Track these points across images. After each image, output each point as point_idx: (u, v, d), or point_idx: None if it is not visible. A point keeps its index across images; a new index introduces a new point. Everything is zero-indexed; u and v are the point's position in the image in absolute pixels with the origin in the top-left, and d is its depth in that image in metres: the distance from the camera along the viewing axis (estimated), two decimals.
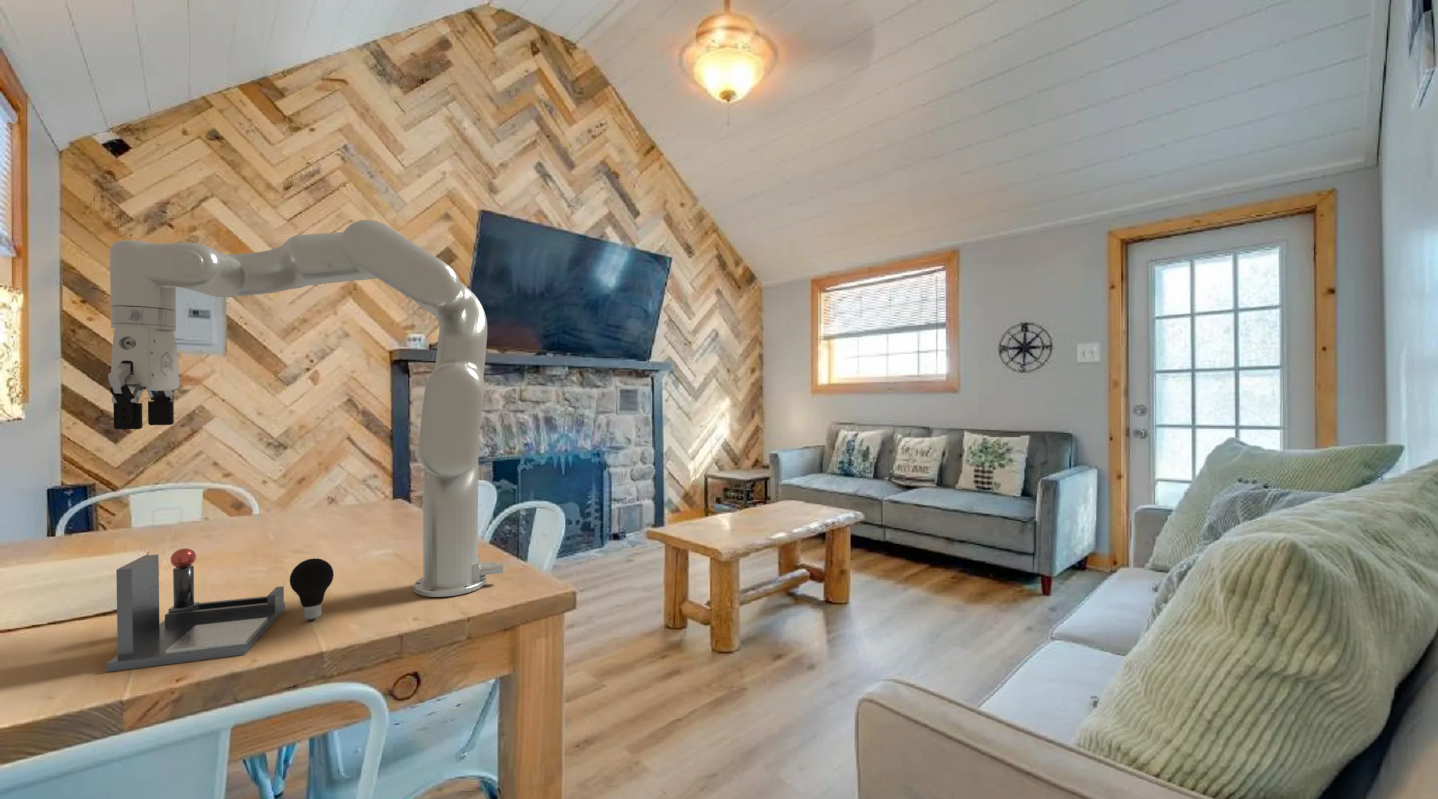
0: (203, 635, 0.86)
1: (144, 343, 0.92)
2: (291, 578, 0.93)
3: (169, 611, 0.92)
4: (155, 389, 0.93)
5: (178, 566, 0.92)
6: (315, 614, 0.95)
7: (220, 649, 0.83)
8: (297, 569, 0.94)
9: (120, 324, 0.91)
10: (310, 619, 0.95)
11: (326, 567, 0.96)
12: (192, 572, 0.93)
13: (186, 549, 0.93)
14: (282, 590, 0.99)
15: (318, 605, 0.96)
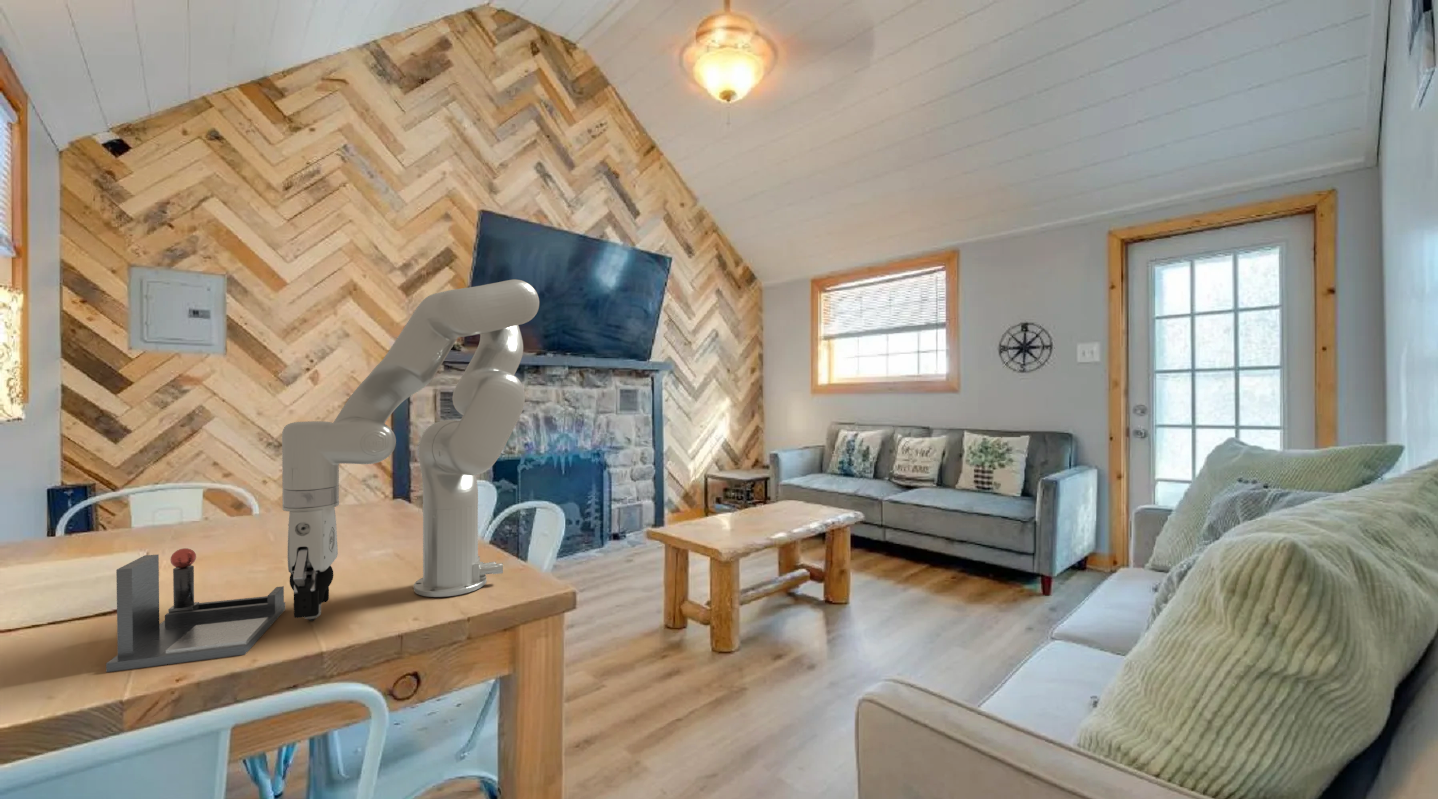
0: (203, 635, 0.86)
1: (318, 527, 0.92)
2: (291, 578, 0.93)
3: (169, 611, 0.92)
4: None
5: (178, 566, 0.92)
6: None
7: (220, 649, 0.83)
8: None
9: (294, 509, 0.92)
10: (310, 619, 0.95)
11: None
12: (192, 572, 0.93)
13: (186, 549, 0.93)
14: (282, 590, 0.99)
15: None
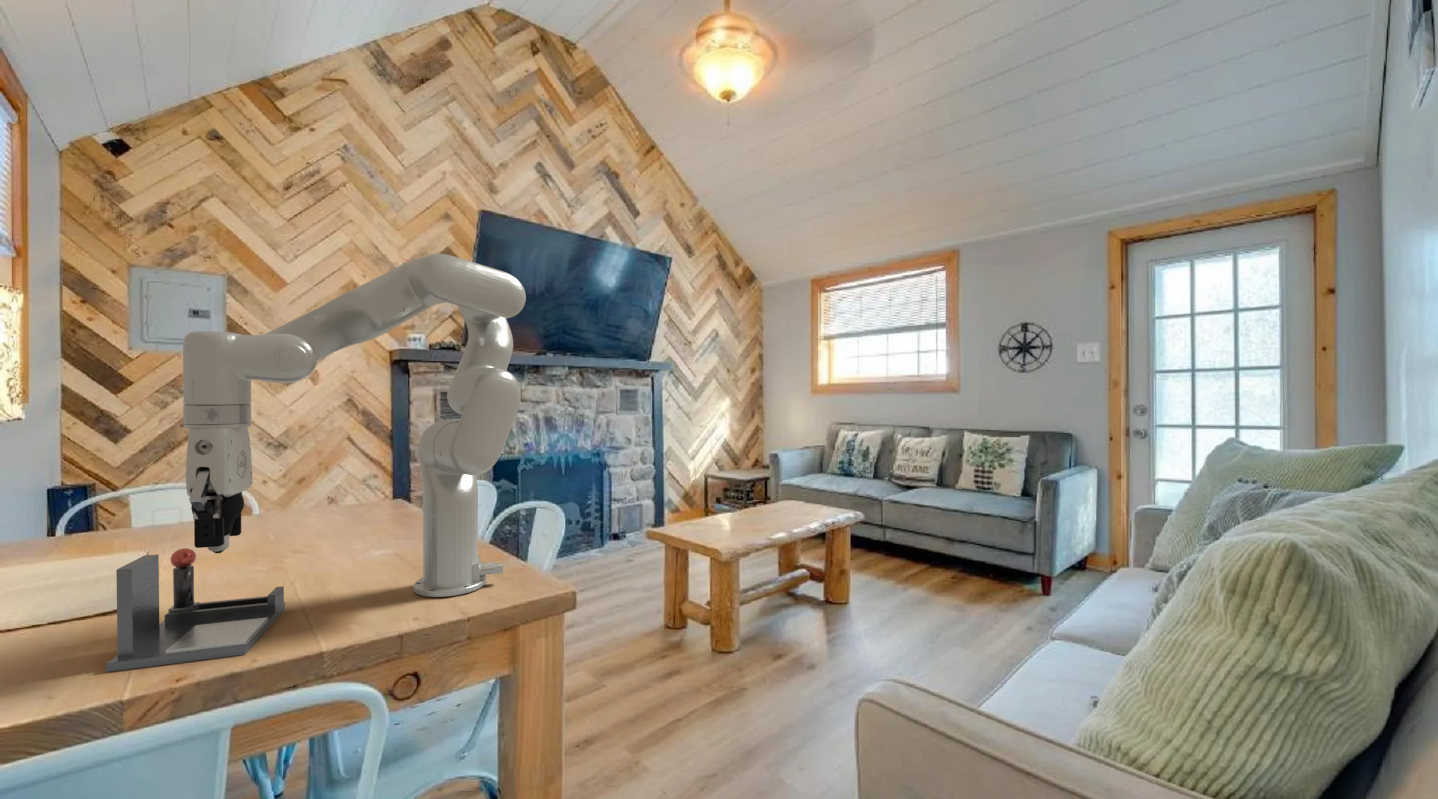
0: (203, 635, 0.86)
1: (221, 446, 0.82)
2: None
3: (169, 611, 0.92)
4: (231, 495, 0.84)
5: (178, 566, 0.92)
6: (221, 546, 0.86)
7: (220, 649, 0.83)
8: None
9: (195, 425, 0.82)
10: (215, 551, 0.86)
11: None
12: (192, 572, 0.93)
13: (186, 549, 0.93)
14: (282, 590, 0.99)
15: (225, 536, 0.86)
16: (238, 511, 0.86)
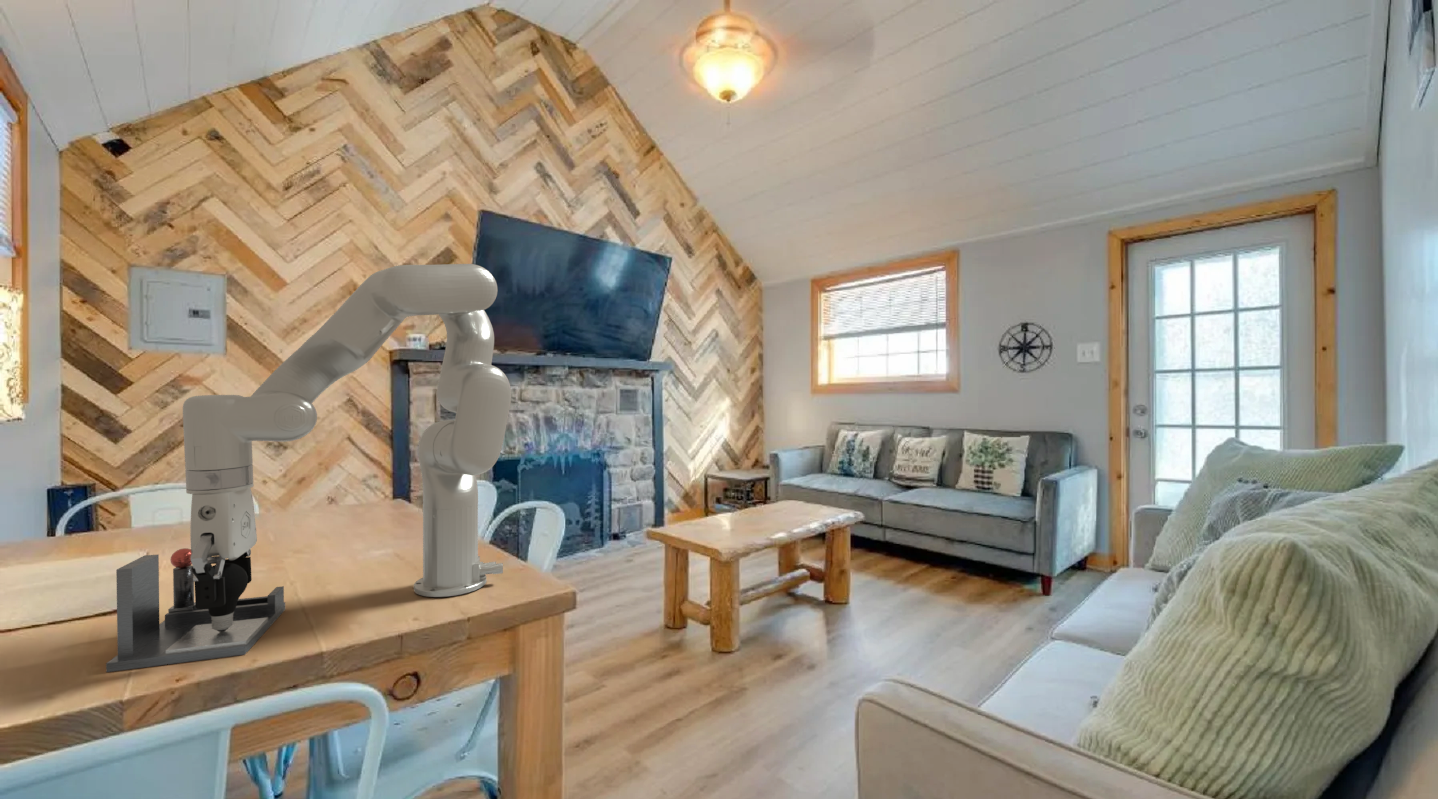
0: (203, 635, 0.86)
1: (224, 511, 0.83)
2: None
3: (169, 611, 0.92)
4: (236, 558, 0.85)
5: (178, 566, 0.92)
6: (225, 624, 0.86)
7: (220, 649, 0.83)
8: None
9: (197, 491, 0.83)
10: (219, 630, 0.86)
11: (239, 572, 0.87)
12: (192, 572, 0.93)
13: (186, 549, 0.93)
14: (282, 590, 0.99)
15: (229, 614, 0.87)
16: (242, 589, 0.87)
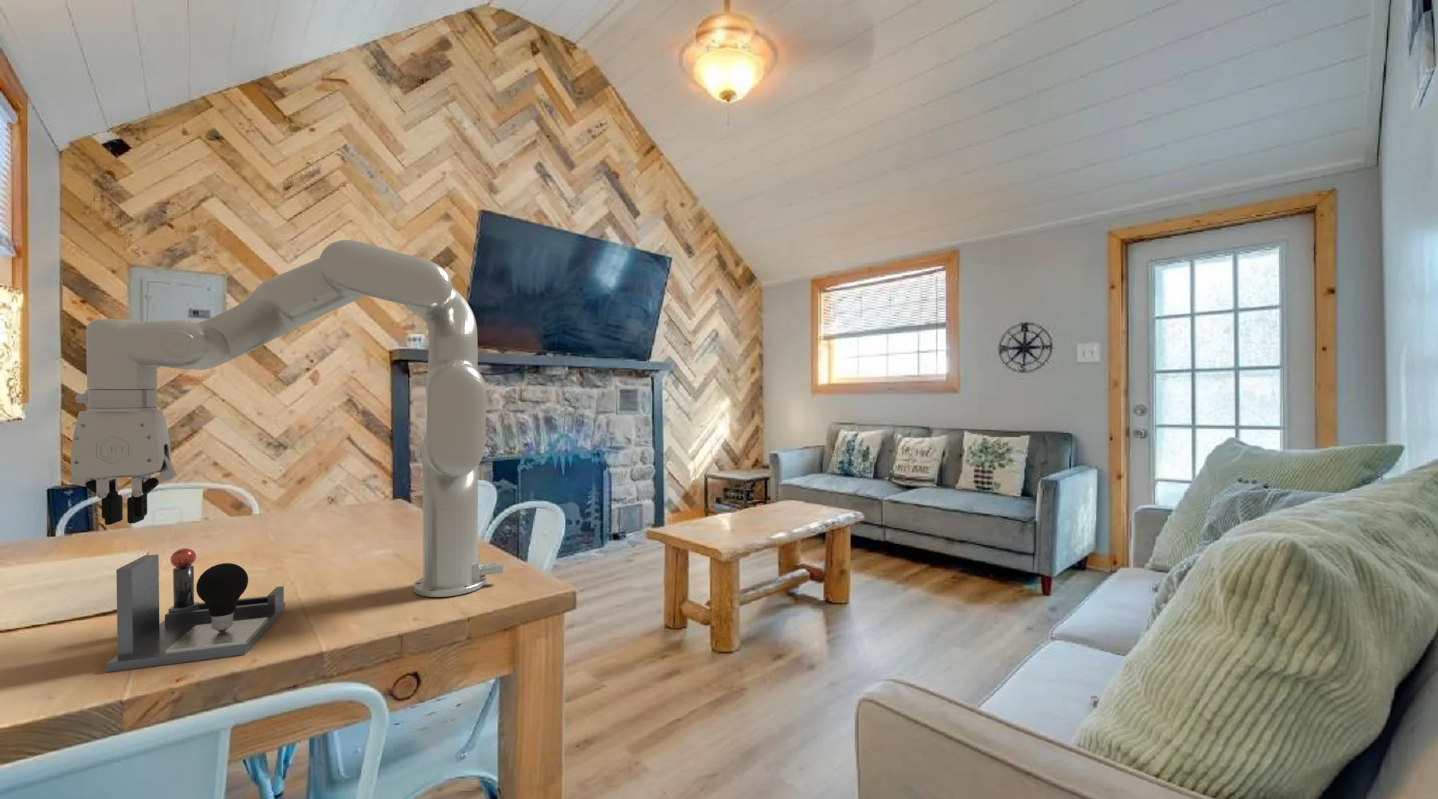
0: (203, 635, 0.86)
1: None
2: (197, 585, 0.85)
3: (169, 611, 0.92)
4: (86, 477, 0.86)
5: (178, 566, 0.92)
6: (225, 625, 0.86)
7: (220, 649, 0.83)
8: (204, 575, 0.85)
9: None
10: (219, 630, 0.86)
11: (239, 573, 0.87)
12: (192, 572, 0.93)
13: (186, 549, 0.93)
14: (282, 590, 0.99)
15: (229, 615, 0.87)
16: (242, 590, 0.87)
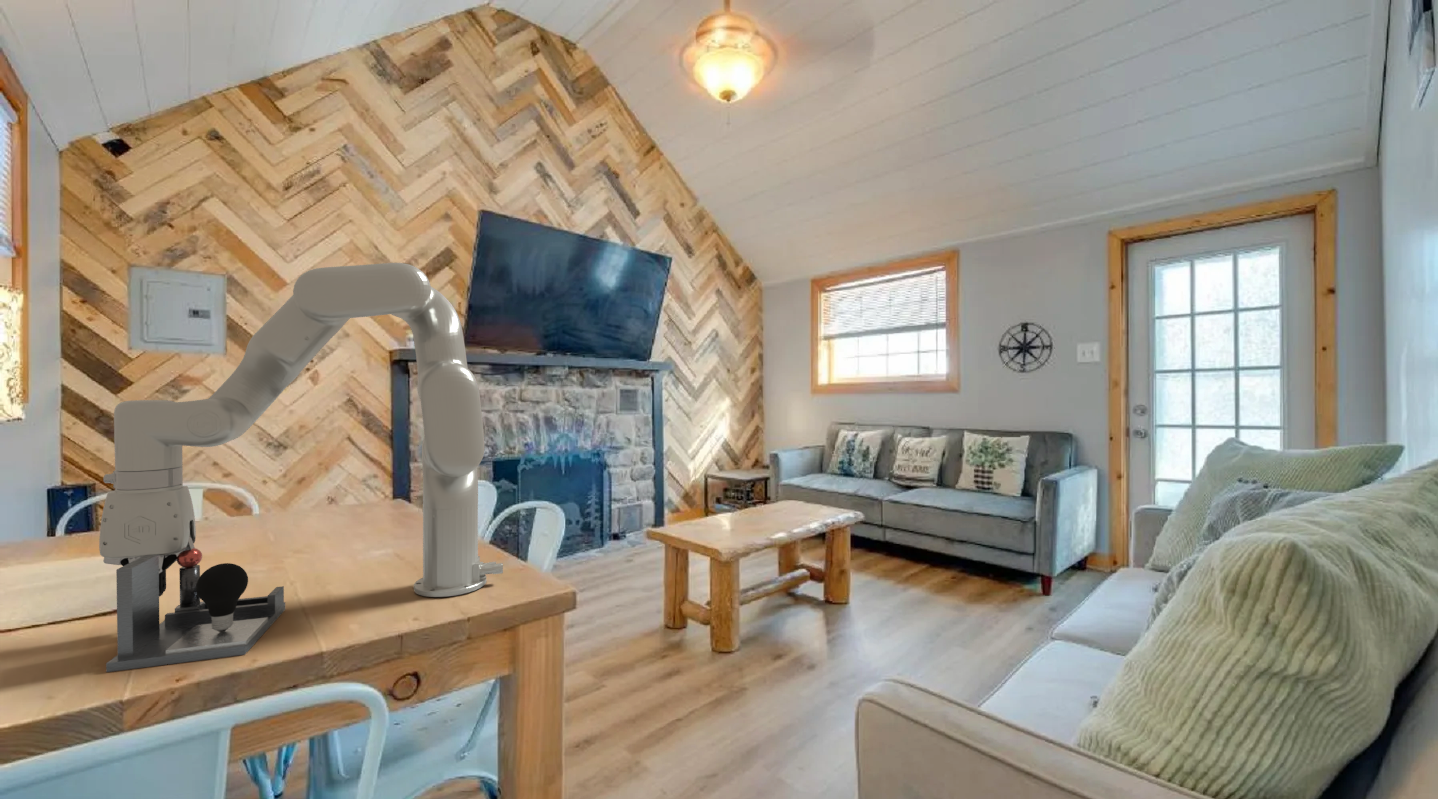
0: (203, 635, 0.86)
1: (103, 509, 0.88)
2: (197, 585, 0.85)
3: (175, 610, 0.92)
4: (114, 557, 0.88)
5: (184, 565, 0.92)
6: (225, 625, 0.86)
7: (220, 649, 0.83)
8: (204, 575, 0.85)
9: None
10: (219, 630, 0.86)
11: (239, 573, 0.87)
12: (198, 572, 0.94)
13: (192, 549, 0.93)
14: (282, 590, 0.99)
15: (229, 615, 0.87)
16: (242, 590, 0.87)
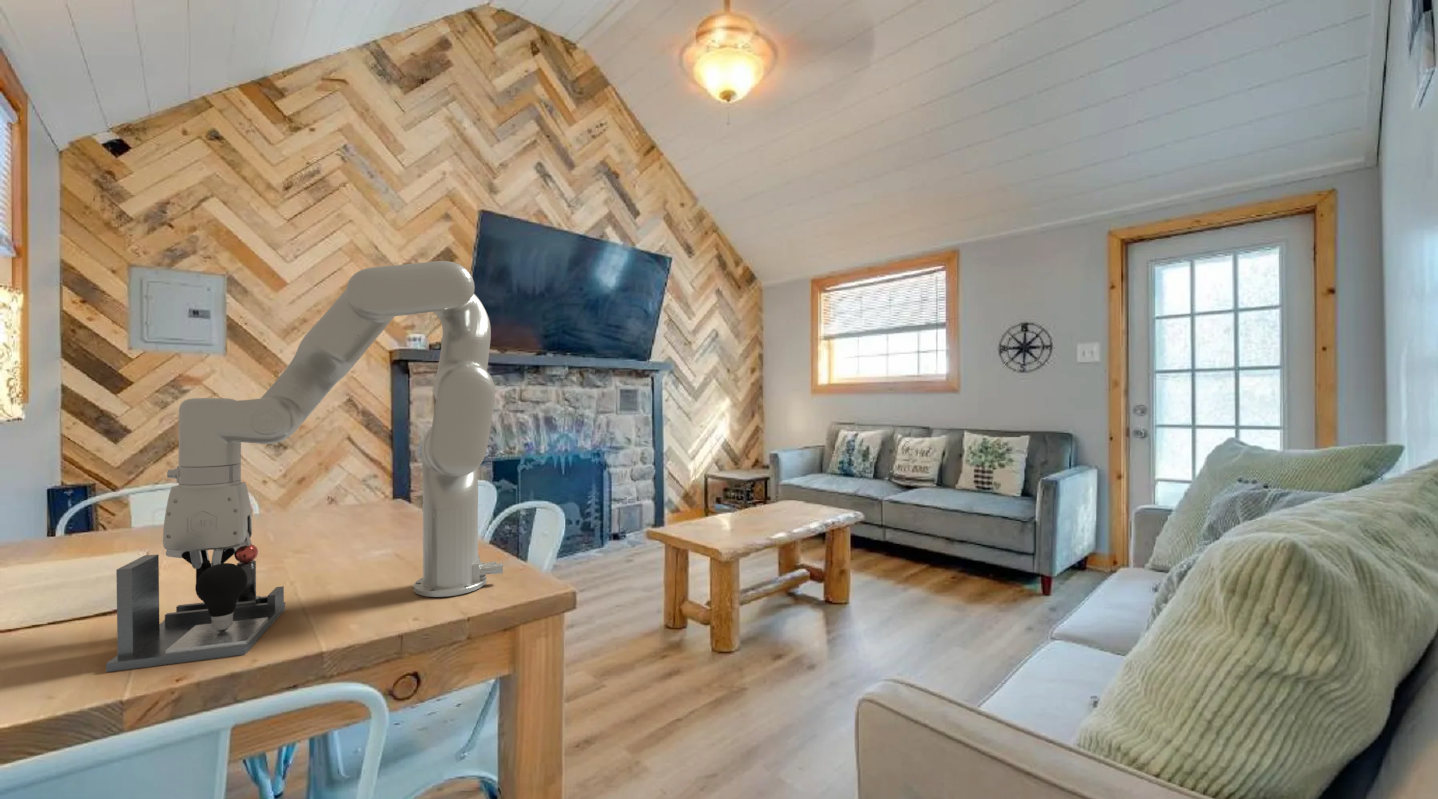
0: (203, 635, 0.86)
1: (167, 504, 0.90)
2: (196, 585, 0.85)
3: None
4: (177, 550, 0.91)
5: (242, 561, 0.95)
6: (225, 625, 0.86)
7: (220, 649, 0.83)
8: (203, 575, 0.85)
9: None
10: (219, 630, 0.86)
11: (238, 572, 0.87)
12: (255, 567, 0.96)
13: None
14: (282, 590, 0.99)
15: (228, 615, 0.87)
16: (242, 589, 0.87)
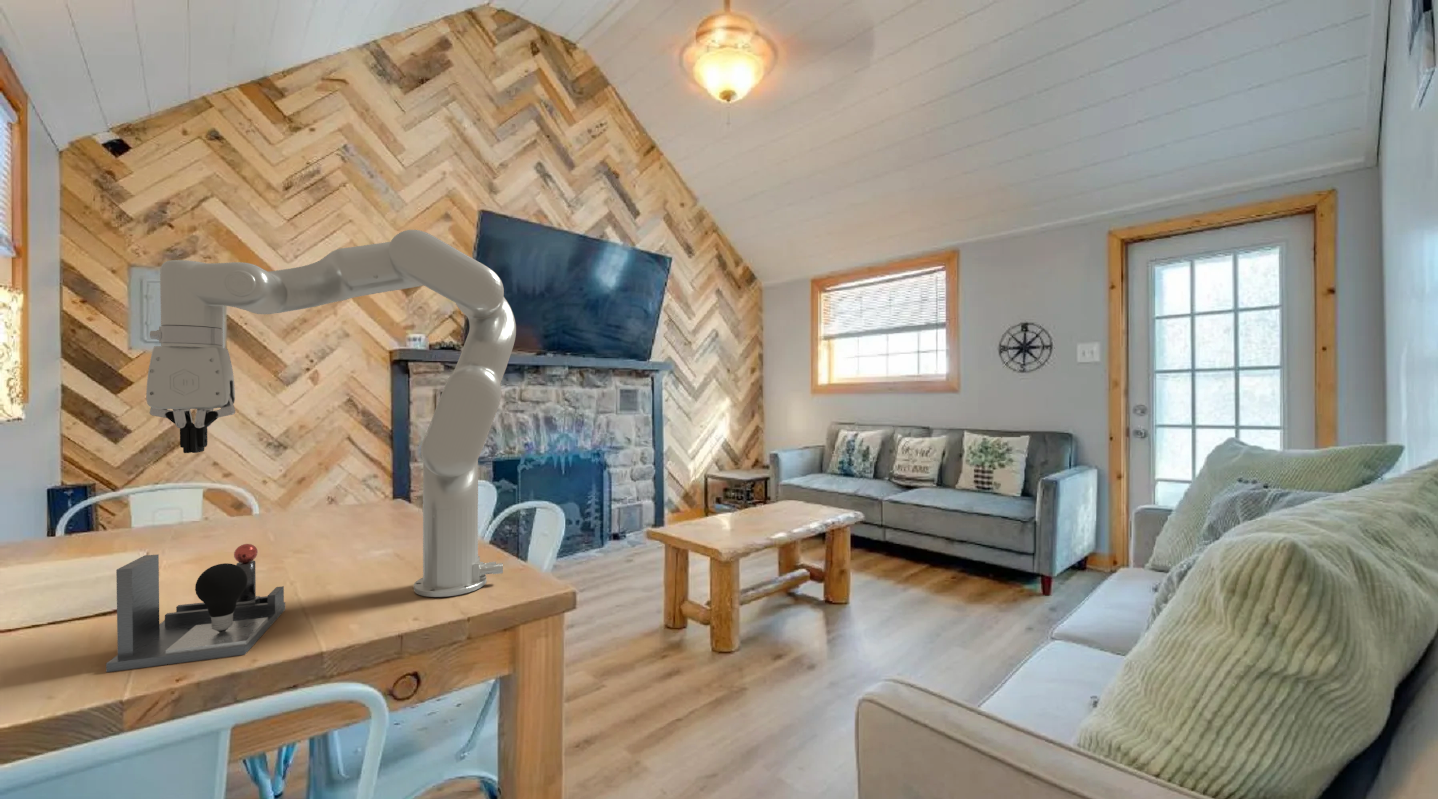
0: (203, 635, 0.86)
1: None
2: (196, 585, 0.84)
3: None
4: (160, 407, 0.92)
5: (241, 561, 0.95)
6: (225, 625, 0.86)
7: (220, 649, 0.83)
8: (203, 576, 0.85)
9: None
10: (219, 630, 0.86)
11: (238, 573, 0.87)
12: (254, 567, 0.96)
13: (248, 544, 0.96)
14: (282, 590, 0.99)
15: (228, 615, 0.87)
16: (242, 590, 0.87)
